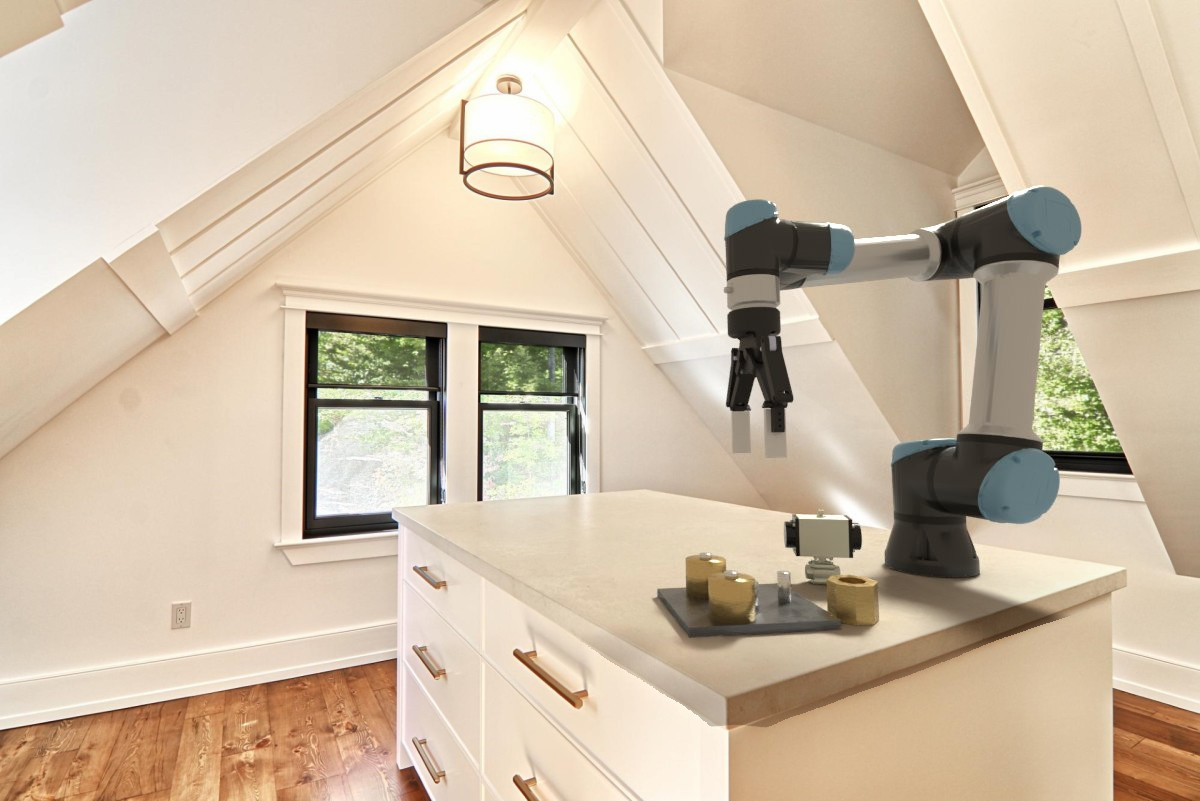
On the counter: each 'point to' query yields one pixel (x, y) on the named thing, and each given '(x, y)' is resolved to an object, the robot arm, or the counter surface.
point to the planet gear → (853, 599)
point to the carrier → (739, 603)
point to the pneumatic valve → (822, 542)
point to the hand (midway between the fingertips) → (757, 455)
